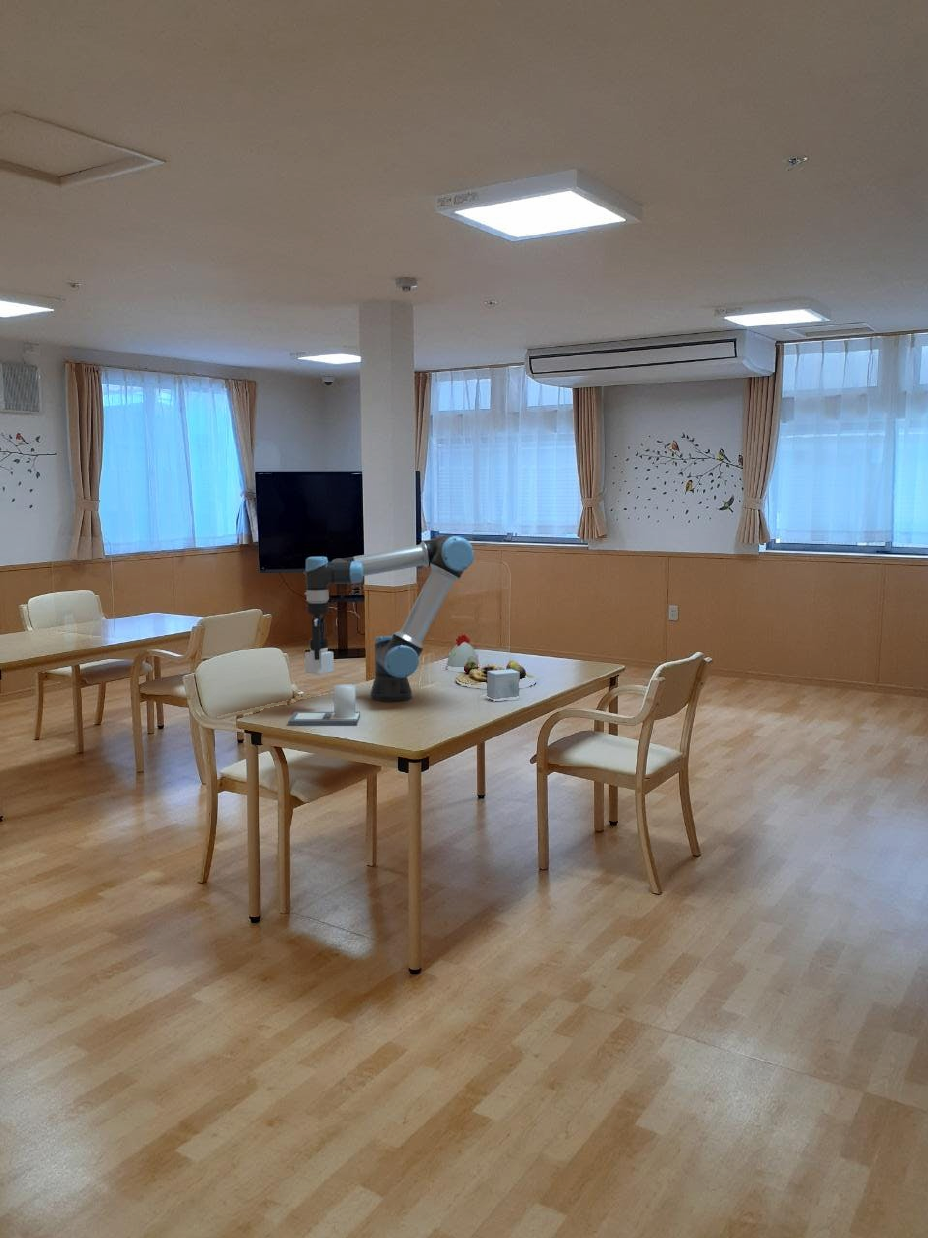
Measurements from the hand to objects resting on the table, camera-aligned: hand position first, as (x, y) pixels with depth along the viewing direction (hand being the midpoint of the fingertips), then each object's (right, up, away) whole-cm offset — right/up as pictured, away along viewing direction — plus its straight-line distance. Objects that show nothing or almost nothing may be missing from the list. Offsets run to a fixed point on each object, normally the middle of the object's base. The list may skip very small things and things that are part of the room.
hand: (319, 666), depth 351 cm
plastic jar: (+11, -16, -15) cm, 24 cm away
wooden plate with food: (+63, -10, +53) cm, 83 cm away
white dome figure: (+50, -5, +81) cm, 95 cm away
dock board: (+4, -17, -15) cm, 23 cm away
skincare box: (+64, -13, +20) cm, 69 cm away
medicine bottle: (0, -2, 0) cm, 2 cm away
